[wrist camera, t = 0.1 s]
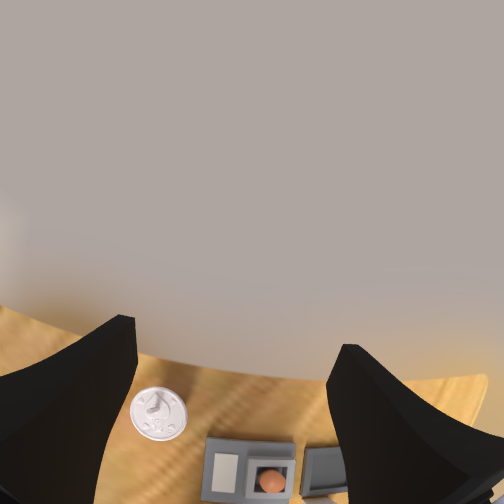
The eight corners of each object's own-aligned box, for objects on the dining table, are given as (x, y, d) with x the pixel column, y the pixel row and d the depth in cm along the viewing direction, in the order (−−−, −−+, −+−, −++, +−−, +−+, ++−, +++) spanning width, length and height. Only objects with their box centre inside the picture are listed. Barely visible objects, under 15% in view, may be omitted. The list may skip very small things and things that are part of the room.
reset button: (279, 487, 28) (284, 493, 26) (256, 487, 28) (260, 493, 25) (281, 468, 29) (286, 473, 27) (258, 468, 29) (262, 473, 27)
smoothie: (191, 388, 36) (180, 385, 24) (194, 431, 33) (186, 449, 21) (146, 387, 35) (116, 382, 23) (149, 430, 32) (120, 445, 20)
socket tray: (348, 488, 31) (352, 490, 29) (299, 493, 30) (302, 496, 29) (353, 444, 35) (357, 445, 33) (304, 447, 34) (307, 449, 33)
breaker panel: (285, 499, 29) (293, 509, 26) (201, 496, 29) (200, 506, 25) (292, 441, 34) (301, 446, 30) (206, 436, 33) (206, 440, 29)
